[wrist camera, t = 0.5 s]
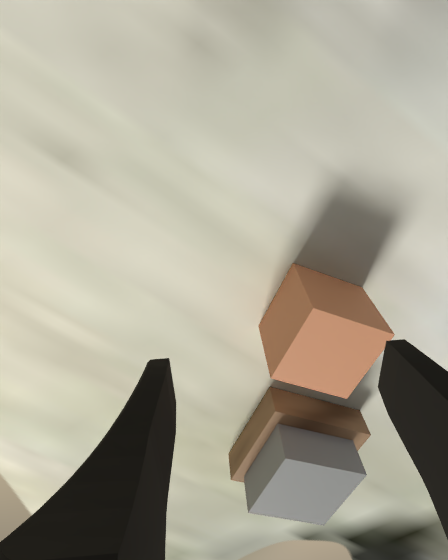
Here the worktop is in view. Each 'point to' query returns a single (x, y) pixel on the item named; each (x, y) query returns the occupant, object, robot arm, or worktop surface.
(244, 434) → the walnut slab
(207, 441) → the worktop surface
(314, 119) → the worktop surface
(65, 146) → the worktop surface
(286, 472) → the grey slab
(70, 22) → the worktop surface
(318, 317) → the terracotta cube
